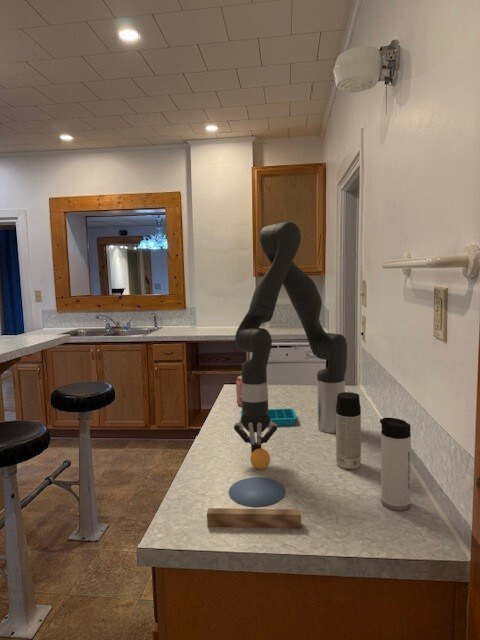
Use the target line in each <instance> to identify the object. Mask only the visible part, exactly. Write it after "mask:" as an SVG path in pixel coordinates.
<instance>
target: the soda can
mask: <svg viewBox="0 0 480 640" xmlns="http://www.w3.org/2000/svg"><path fill="white" fill-rule="evenodd" d="M236 378H237V379H236V384H235V385H236V386H235V390H236V392H235V393H236V404H237V405H238V406H240V407H242V398H241V389H242V374H241V375H238V376H237V377H236Z"/></svg>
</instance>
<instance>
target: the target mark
mask: <svg viewBox="0 0 480 640" xmlns="http://www.w3.org/2000/svg"><path fill="white" fill-rule="evenodd" d="M285 494H286V488H285V487H284V485H283V484H282V483H281V482H279V481H278V480H275V479H274V478H273V479H272V478H268V477H263V476H262V477H261V476H257V477H256V476H253V477H251V476H250V477H247V478H242V479H240V480H237V481H236V482H234V483H233V484H232V485H230V487H229V489H228V495H229V498H230V499H231V500H232V501H233V502H235V503H237V504H239V505H242V506H244V507H245V506H246V507H250V508H251V507H255V508H257V507H258V508H260V507H267V506H271V505H274V504H277V503H278V502H280V501H282V499H284V497H285V496H286V495H285Z"/></svg>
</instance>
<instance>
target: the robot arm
mask: <svg viewBox="0 0 480 640" xmlns="http://www.w3.org/2000/svg"><path fill="white" fill-rule="evenodd" d="M259 234H260V235H259V243H260V246H261V249H262V251H263V253H264V255H265V256H266V258H267V260H268V261H269V262H270V264H271V265H270V266H269V268H268V270H267V271H266V272H265V274H264V275H263V276H262V278H261V279H260V280H259V282H258V284H257V285H256V287H255V289H254V292H253V295H252V297H251V301H250V303H249V308H248V311H247V313H245V315H244V317H243V319H242V320H241V322H240V324H239V326H238V328H237V330H236V332H235V336H234V337H235V339H234V342H235V346H236V347H237V349H238V350H239V351H242V352H245V353H252V355H251V359H249V360H245V361H243V363H242V365H241V375H242V389H241V398H242V406H241V411H242V417H241V416H240V420H239V421H238V422H235V423H234V425H233V430H234V431H235V432H236V434H238V436H239V437H240V438H241V439H242V441H243V442H244V443H245V444H247V443H248V444H250V445H251V446H250V449H251V450H250V451H251V454H252V452H253V451H254V450H256V449H259V448H261V449H262V445H263V444H266V443H268V441H269V440H270V439H271V438H272V437H273V435H274V433H275V432H276V431H277V430H278V426H277V424H276V423H273V422H272V421H270V417H269V414H268V409H269V387H268V380H267V379H268V376H267V366H268V362H269V358H270V354H271V350H272V344H273V340H272V336H271V334H270V332H269V331H268V330H267V329H266V328H262V327H260V326H261V325H262V324H264V323H265V324H266V323H268V322H270V321H271V320H272V319H273V317H274V312H275V309H276V306H277V301H278V298H279V294H280V291H281V289H282V285H283V287H284V290H285V291H286V294H287V295H288V298H289V300H290V302H291V305H292V306H293V308H294V310H295V312H296V315H297V317H298V318H299V320H300V321H299V322H300V323H301V326H302V327H303V330H304V332H305V336H306V339H307V342H308V344H309V347H310V349H311V352H312V353H313V355H314V357H316V358H318V359H320V360H325V361H328V365H327V368H324V369H319V370H318V371H317V373H316V382H317V384H316V387H317V390H316V391H317V395H316V396H317V429H318V430H319V431H321V432H324V433H329V434H330V433H331V434H336V404H337V396H338V394H339V393H342V392H346V391H345V390H346V389H345V387H346V384H345V380H346V379H345V377H346V372H347V368H348V367H347V365H348V364H347V362H348V342H347V339H346V337H345V336H344V335H343V334H339V333H333V332H332V333H331V332H326V331H325V330H324V329H323V327H322V324H321V322H320V314H321V311H322V306H323V300H322V297H321V296H322V295H320V292H319V290H318V287H317V285H316V283H315V281H314V280H313V278H311V277H310V275H308V274H307V273H305V271H303V270H302V269H301V268H300V267H299V266H297V265H296V263H295V262H294V259H295V257H296V255H297V253H298V251H299V248H300V245H301V240H302V234H301V230H300V228H299V226H298V225H297V224H296V223H295V222H293V221H292V222H291V221H284V222H280V223H279V222H278V223H273V224H269V225H266V226H264V227H262V229H261V231H260V233H259ZM268 425H269V426H268ZM267 427H268V430H267V431H266V433H265V434H264V436H262V435H263V434H262V433H264V432H265V430H266V429H267ZM245 430H246V431H247V432H248V433H249V434H247V432H246V431H245ZM251 454H250V455H251Z"/></svg>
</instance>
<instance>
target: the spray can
mask: <svg viewBox="0 0 480 640" xmlns="http://www.w3.org/2000/svg"><path fill="white" fill-rule="evenodd" d="M361 409H362V408H361V402H360V394H358V393H355V392H349V391H347V392H346V391H345V392H342V393H339V394H338V396H337V404H336V433H335V438H336V439H335V440H336V441H335V443H336V445H335V446H336V449H335V450H336V454H335V457H336V458H335V459H336V461H335V462H336V465H337V466H338V467H339V468H340V469H343V470H357V469H358V468H360V467H361V465H362V460H361V459H362V417H361V415H362V413H361Z"/></svg>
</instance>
